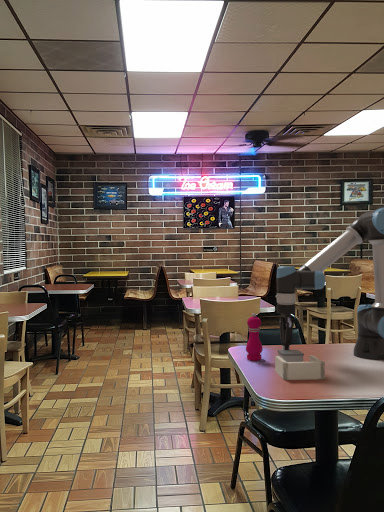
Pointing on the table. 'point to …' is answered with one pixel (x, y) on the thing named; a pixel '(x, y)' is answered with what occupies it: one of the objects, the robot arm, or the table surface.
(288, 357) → the rounded grey cube
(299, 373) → the bay
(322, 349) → the table surface
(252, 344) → the pepper mill
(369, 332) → the robot arm
